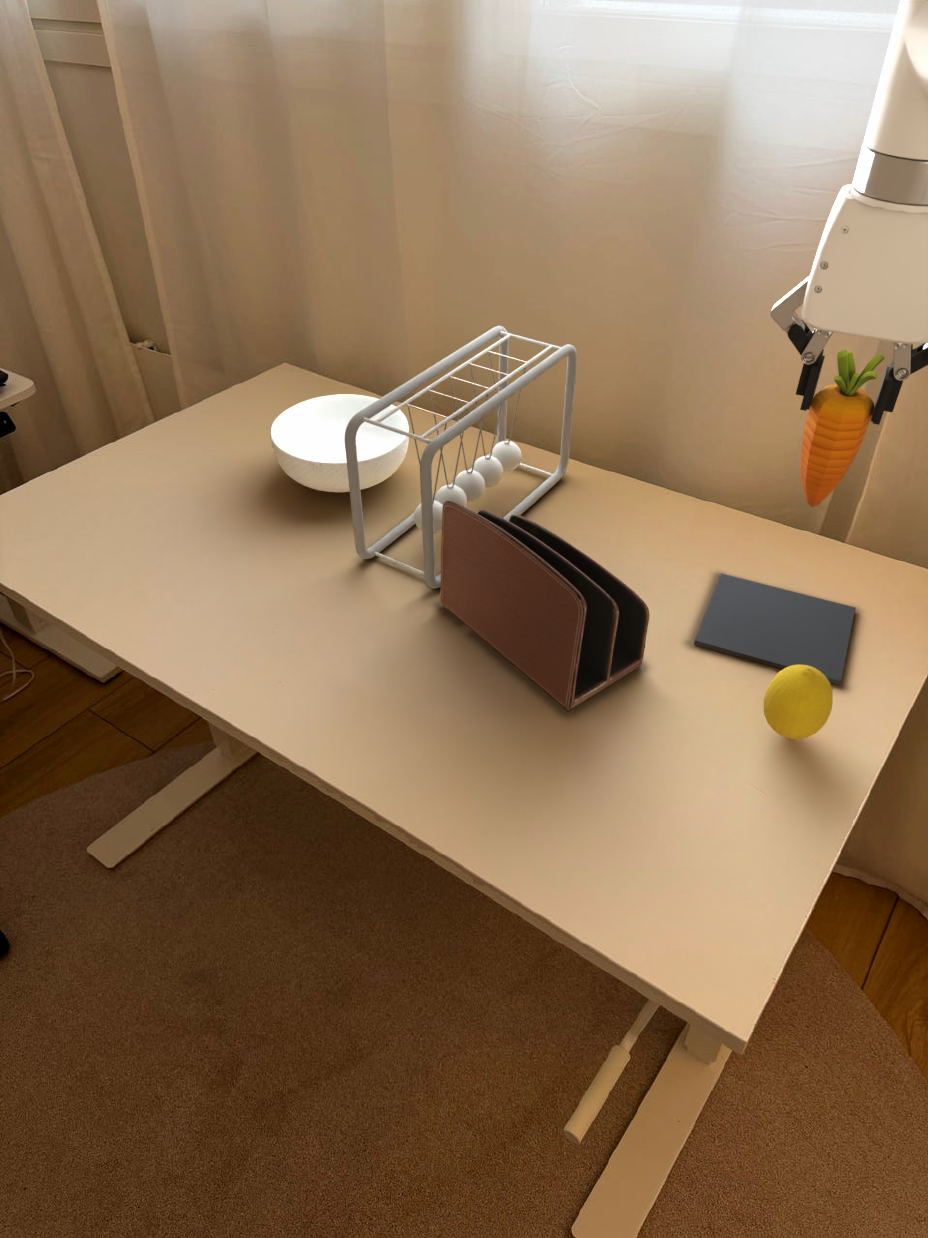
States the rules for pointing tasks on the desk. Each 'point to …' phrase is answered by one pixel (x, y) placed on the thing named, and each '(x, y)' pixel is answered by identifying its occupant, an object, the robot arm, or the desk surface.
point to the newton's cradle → (484, 468)
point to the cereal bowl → (336, 442)
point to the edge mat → (777, 626)
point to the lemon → (798, 701)
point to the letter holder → (540, 602)
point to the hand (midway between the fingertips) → (841, 408)
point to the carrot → (836, 428)
